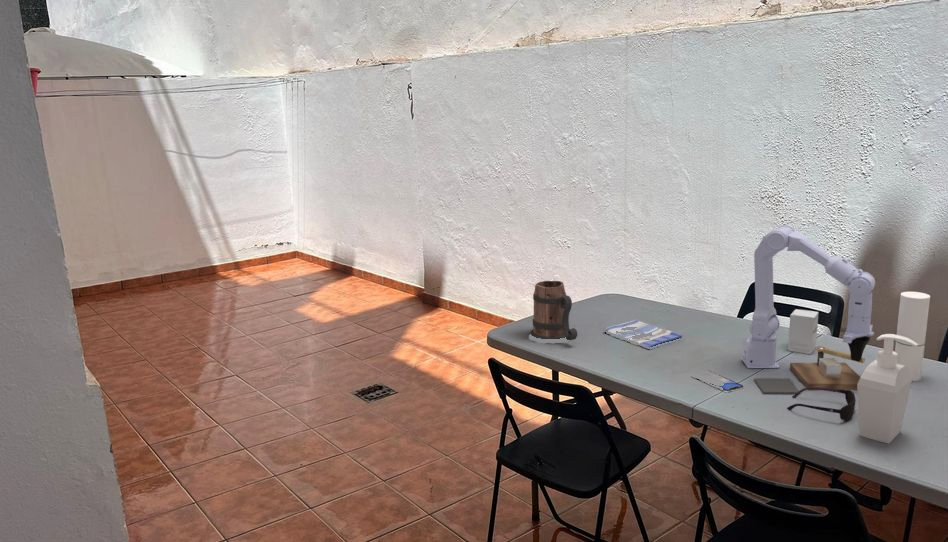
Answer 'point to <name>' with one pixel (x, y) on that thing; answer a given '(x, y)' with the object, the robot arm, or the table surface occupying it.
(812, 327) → the supplement box
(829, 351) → the lever
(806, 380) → the wooden base
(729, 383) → the smartphone
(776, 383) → the rubber mat
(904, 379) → the soap bottle
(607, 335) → the table surface
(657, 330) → the dish towel
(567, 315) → the tankard
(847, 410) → the sunglasses
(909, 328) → the cylindrical container
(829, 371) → the grey block
